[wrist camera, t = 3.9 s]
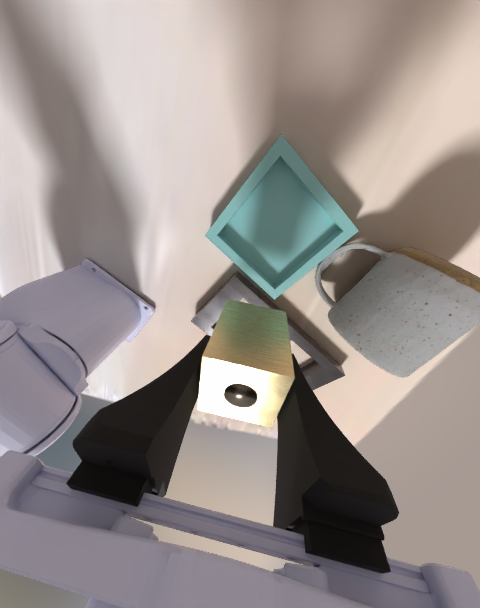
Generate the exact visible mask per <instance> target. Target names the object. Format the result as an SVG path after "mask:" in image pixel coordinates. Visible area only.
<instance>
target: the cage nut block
mask: <svg viewBox="0 0 480 608" xmlns="http://www.w3.org/2000/svg"><path fill="white" fill-rule="evenodd" d="M294 379H295V376H294V368H293V360H292V353H291V345H290V338H289V330H288V323H287V315H286V312H285V311H280V310H276V309H271V308H266V307H262V306H257V305H252V304H248V303H243V302H238V301H234V300H229V299H227V301H226V303H225V306H224V308H223V310H222V312H221V315H220V317H219V319H218V321H217V324H216V326H215V328H214V330H213V333H212V335H211V337H210V340H209V342H208V344H207V346H206V349H205V351H204V353H203V355H202V363H201V375H200V388H199V400H198V410H201V411H205V412H209V413H213V414H217V415H221V416H225V417H230V418H234V419H238V420H242V421H246V422H250V423H254V424H258V425H262V426H266V427H271V428H272V426H273V423H274V421H275V419H276V417H277V415H278V413H279V411H280V408H281V406H282V404H283V402H284V400H285V398H286V396H287V393H288V391H289V389H290V387H291V385H292V383H293V381H294Z"/></svg>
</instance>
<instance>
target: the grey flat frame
mask: <svg viewBox="0 0 480 608" xmlns="http://www.w3.org/2000/svg"><path fill="white" fill-rule="evenodd" d="M242 298H244V299H246V300H247V301H248V302H249V303H250V304H252V305H257V306H262V307H266V308H271V309H276V310H280V309H279V308H277V307H276V306H275V305H274V304H273V303H272V302H271V301H270V300H269V299H268V298H267V297H265V296H264V295H263V294H262V293H261V292H260V291H259V290H258V289H257V288H256V287H254V286H253V285H252V284H251V283H250V282H249V281H248V280H247V279H246V278H245V277H244V276H242V275H241V274H240V273H239V272H238V271H237V272H236V273H235V274H234V275H233V276H232V277H231V278H230V279H229V280H228V281H227V282H226V283H225V284H224V285H223V286H222V287H221V288H220V289H219V290H218V292H217V293H216V294H215V295H214V296H213V297H212V298H211V299H210V300H209V301H208V302H207V303H206V304H205V305H204V306H203V307H202V308H201V309H200V310H199V311H198V312H197V313H196V314H195V316H194V317H193V319H192V320H191V322H192V323H194V324H195V325H196V326H198V327H199V328H200V329H202V330H203V331H204V332H206V333H207V334H208V335H209V336H211V335H212V333H213V330H214V328H215V326H216V324H217V321H218V319H219V317H220V315H221V312H222V310H223V308H224V306H225V303H226V301H227V299H229V300H234V301H238V302H239V301H240V300H241V299H242ZM280 311H281V310H280ZM287 323H288V330H289V338H290V341H291V340H292V341H294V342H295V343H296V344H297V345H298V346H299V347H300V348H302V349H303V350H304V351H305V352H306V353H307V354H308V355H310V356H311V357H312V358H313V359H314V360H315V362H313V363H311V364H309V365H307V366H305V367H303V368H302V369H301V370H302V372H303V374H304V376H305V378H306V380H307V382H308V384H309V385H310V387H311V389H312V390H314V389H317V388H319V387H321V386H323V385H325V384H328V383H330V382H332V381H334V380H336V379H338V378H341V377H343V376H345V374H344V371H343V369H342V366H341V365H340V364H339V363H338V362H337V361H336V360H334V359H333V358H332V357H331V356H330V355H329V354H328V353H327V352H326V351H325V350H323V349H322V348H321V347H320V346H319V345H318V344H317V343H316V342H315V341H314V340H313V339H311V338H310V337H309V336H308V335H307V334H306V333H305V332H304V331H303V330H302V329H300V328H299V327H298V326H297V325H296V324H295V323H294V322H293V321H292V320H291V319H290V318H288V317H287Z"/></svg>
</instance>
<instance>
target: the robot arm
mask: <svg viewBox="0 0 480 608" xmlns="http://www.w3.org/2000/svg"><path fill="white" fill-rule="evenodd" d="M94 268H95V269H96V270H95V269H94ZM147 307H148V308H147ZM154 311H155V309H154V308H153V307H152V306H151V305H150V304H148V303H147V302H145V301H144V300H143V299H141V298H140V297H139V296H137V295H136V294H135V293H133V292H132V291H131V290H129V289H128V288H127V287H125V286H124V285H123V284H121V283H120V282H119V281H117V280H116V279H114V278H113V277H112V276H110V275H109V274H108V273H106V272H105V271H104V270H102V269H101V268H100V267H98V266H97V265H96V264H94V263H93V262H92V261H90V260H89V259H84V260H82V262H81V264H80V265H78V266H75V267H72V268H70V269H67V270H64V271H61V272H58V273H56V274H53V275H50V276H47V277H45V278H42V279H39V280H36V281H33V282H31V283H28V284H25V285H23V286H21V287H19V288H17V289H15V290H14V291H12V292H10V293H9V294H7V295H6V296H4V297H3V298H1V299H0V569H3V570H6V571H10V572H13V573H16V574H19V575H22V576H25V577H28V578H31V579H34V580H38V581H41V582H44V583H47V584H50V585H53V586H56V587H59V588H63V589H66V590H69V591H72V592H75V593H79V594H81V595H85V596H88V597H90V598H89V601H88V603H87V605H86V607H85V608H480V591H479V589H478V587H477V585H476V583H475V581H474V580H473V577H472V576H471V574H470V573H468V572H467V571H463V570H460V569H456V568H452V567H449V566H445V565H441V564H435V563H427V564H423V565H421V566H417V565H413V564H410V563H406V562H402V561H398V560H395V559H391V558H387V557H386V554H385V552H384V547H383V545H382V541H381V540H384V534H383V531H382V528H381V525H384V524H386V523H388V522H391V521H393V520H394V519H396V518H397V516H398V514H399V511H398V508H397V506H396V503H395V501H394V498H393V495H392V493H391V491H390V489H389V486H388V484H387V482H386V480H385V479H384V478H383V477H382V476H381V475H380V474H379V473H378V472H377V471H376V470H375V469H374V468H373V467H372V466H371V465H370V464H369V463H368V461H367V460H366V459H364V457H363V456H362V455H361V454H360V453H359V452H358V451H357V450H356V448H355V447H354V446H353V445H352V444H351V443H350V442H349V440H348V439H347V438H346V437H345V436H344V434H343V433H342V432H341V431H340V429H339V428H338V427H337V426H336V425H335V423H334V422H333V421H332V419H331V418H330V417H329V415H328V414H327V412H326V411H325V410H324V408H323V407H322V405H321V404H320V402H319V400H318V399H317V397H316V396H315V394H314V392H313V391H312V389H311V387H310V385H309V384H308V382H307V380H306V378H305V376H304V374H303V372H302V370H301V368H300V366H299V364H298V362H297V360H296V358H295V356H294V354H292V360H293V368H294V376H295V379H294V381H293V383H292V385H291V387H290V389H289V391H288V393H287V396H286V398H285V400H284V402H283V404H282V406H281V408H280V411H279V413H278V415H277V420H278V453H277V476H276V494H275V510H274V523H273V527H272V526H268V525H264V524H261V523H257V522H253V521H249V520H246V519H242V518H238V517H234V516H231V515H226V514H223V513H219V512H216V511H212V510H208V509H205V508H201V507H197V506H194V505H190V504H186V503H182V502H179V501H175V500H171V499H167V498H163V497H164V496H165V495H166V492H167V488H168V485H169V482H170V479H171V476H172V472H173V469H174V466H175V462H176V459H177V456H178V453H179V450H180V447H181V443H182V440H183V437H184V434H185V431H186V428H187V425H188V422H189V419H190V416H191V413H192V410H193V408H194V405H195V403H196V401H197V398H198V396H199V388H200V375H201V363H202V355H203V353H204V351H205V349H206V346H207V344H208V342H209V340H210V337H211V336H209V335H206V336H204V338H203V339H202V340H201V341H200V342H199V343H198V344H197V345H196V346H195V347H194V348H193V349H192V350H191V351H190V352H189V353H188V354H187V355H186V356H185V357H184V358H183V359H181V360H180V361H179V362H178V363H177V364H176V365H174V366H173V367H172V368H171V369H169V370H168V371H167V372H165V373H164V374H163V375H161V376H160V377H158V378H157V379H155V380H154V381H152V382H151V383H149V384H147V385H146V386H144V387H143V388H141V389H139V390H137V391H135V392H134V393H132V394H130V395H128V396H127V397H125V398H123V399H121V400H119V401H117V402H115V403H113V404H111V405H109V406H106V407H104V408H102V409H101V410H99V411H98V412H97V413H96V414H95V415H94V416H93V417H92V418H91V420H90V421H89V422H88V423H87V424H86V425H85V427H84V428H83V429H82V431H81V432H80V433H79V434H78V435H77V437H76V438H75V439H74V440H73V447H74V449H75V451H76V452H77V454H78V455H79V457H80V458H81V460H82V462H81V463H80V465H79V466H78V467H77V469H76V470H75V472H74V473H70V472H67V471H63V470H59V469H55V468H52V467H48V466H44V463H43V462H42V461H41V460H40V459H39V458H37V457H35V456H36V455H38V454H39V453H41V452H42V451H44V450H45V449H46V448H47V447H49V446H50V445H51V444H52V443H54V442H55V441H56V440H57V439H58V438H59V437H60V436H61V435H62V434H63V433H64V432H65V431H66V430H67V428H68V427H69V426H70V425H71V423H72V422H73V420H74V419H75V417H76V416H77V414H78V412H79V410H80V408H81V404H82V399H81V396H80V394H81V392H82V391H83V390H84V389H85V388H86V387H87V386H88V383H87V381H86V379H85V378H86V377H87V376H88V375H89V374H91V373H92V372H93V371H94V370H95V369H96V368H97V367H98V366H99V365H100V364H101V363H102V362H103V361H104V360H105V359H106V358H107V357H108V356H109V355H110V354H111V353H112V352H113V351H114V350H115V349H116V348H117V347H118V346H119V345H120V344H121V343H122V342H123V341H124V340H126V341H127V342H131V341H132V340H133V338H134V337H135V336H136V334H137V333H138V332H139V331H140V329H141V328H142V327H143V326H144V324H145V323H146V322H147V320H148V319H149V318H150V317H151V315H152V314H153V313H154ZM125 515H126V516H125ZM128 516H129V517H128ZM131 517H133V518H137V519H140V520H144V521H148V522H151V523H155V524H158V525H162V526H166V527H169V528H173V529H176V530H180V531H184V532H187V533H191V534H194V535H198V536H202V537H205V538H209V539H213V540H216V541H220V542H223V543H227V544H231V545H235V546H238V547H242V548H245V549H249V550H252V551H256V552H260V553H263V554H267V555H271V556H274V557H278V558H281V559H285V560H289V561H293V562H296V563H299V564H303V565H299V564H291V563H285V565H284V568H282V569H274V571H273V572H271V571H268V570H266V569H263V568H260V567H256V566H254V565H250V564H247V563H244V562H241V561H238V560H234V559H231V558H227V557H223V556H220V555H217V554H213V553H209V552H205V551H200V550H197V549H193V548H188V547H184V546H180V545H175V544H171V543H166V542H161V541H158V537H157V536H156V535H154V534H153V527H152V526H150V525H147V524H145V523H143V522H140V521H138V520H136V519H133V518H131ZM306 565H307V566H306Z"/></svg>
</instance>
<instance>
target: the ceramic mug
mask: <svg viewBox="0 0 480 608" xmlns="http://www.w3.org/2000/svg"><path fill="white" fill-rule="evenodd" d="M350 249H365V250H368V251H371V252H374V253H375V254H377V255H378V256H380V257H381V260H379V261H378V262H377V263H376V264H375V265H374V266H373V267H372V268H371V269H370V271H369V272H368V273H367V274H366V275H365V276H364V277H363V278H362V279H361V280H360V281H359V282H358V283H357V284H356V285H355V286H354V287H353V288H352V289H351V290H350V291H349V292H347V293H346V294H345V295H344V296H343V297H342V298H341V299H340V300H339V301H338V302H334V301H333V300H332V299H331V298H330V297H329V296H328V295H327V293H326V292H325V290H324V288H323V286H322V283H321V275H322V272H323V271H324V270H325V269H326V268H327V267H328V265H329V264H330V263H332V262H333V261H334V260H335V259H336V258H339V257H341V256H342V255H343V254H344V252H346V251H348V250H350ZM315 282H316V287H317V289H318V292H319V294H320V295H321V297H322V298H323V300H324V301H325V302H326V303H327V304H328V305H329V306H330V307H331V310H330V311H329V313H328V318H329V321H330V323H331V324H332V325H333V327H334V328H335V330H336V331H337V332H338V333H339V334H340V335H341V336H342V338H343V339H344V340H346V341H347V343H348V344H349V345H351V346H352V347H353V348H354V349H355V350H356V351H358V352H359V353H360V354H361V355H363V356H364V357H365V358H366V359H368V360H369V361H370V362H372V363H373V364H375V365H376V366H378V367H379V368H381V369H383V370H384V371H386V372H388V373H390V374H393V375H395V376H398V377H407V376H409V375H411V374H412V373H413V372H414V371H416V370H417V369H418V368H420V367H421V366H422V365H424V364H425V363H427V362H428V361H429V360H431V359H432V358H433V357H435V356H436V355H438V354H439V353H440V352H441V351H443V350H444V349H445V348H447V347H448V346H449V345H451V344H452V343H453V342H455V341H456V340H457V339H459V338H460V337H461V336H463V335H464V334H465V333H467V332H468V331H470V330H471V329H473V328H474V327H475V326H476V325H478V324H479V323H480V278H479V277H477V276H475V275H474V274H472V273H470V272H468V271H466V270H464V269H462V268H460V267H458V266H456V265H454V264H452V263H450V262H448V261H446V260H443V259H441V258H439V257H436V256H434V255H432V254H429V253H426V252H424V251H421V250H418V249H415V248H409V247H404V248H399V249H395V250H393V251H392V252H390V253H387V252H385V251H383V250H382V249H380V248H378V247H375V246H372V245H369V244H365V243H349V244H345V245H342V246H340V247H338V248H337V249H336V250H335V251H334V252H332V253H331V254H330V255H329V256H327V257H326V258H325V259H324V260H323V261H321V262H320V264H319V266H318V267H317V270H316V275H315Z"/></svg>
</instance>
